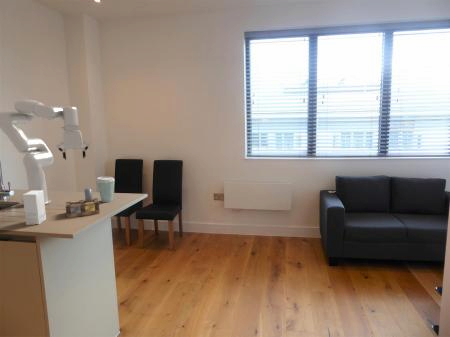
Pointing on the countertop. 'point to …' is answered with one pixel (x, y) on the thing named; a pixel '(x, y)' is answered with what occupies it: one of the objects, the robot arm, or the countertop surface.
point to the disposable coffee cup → (106, 188)
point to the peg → (88, 195)
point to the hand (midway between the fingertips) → (74, 158)
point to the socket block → (82, 208)
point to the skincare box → (34, 207)
